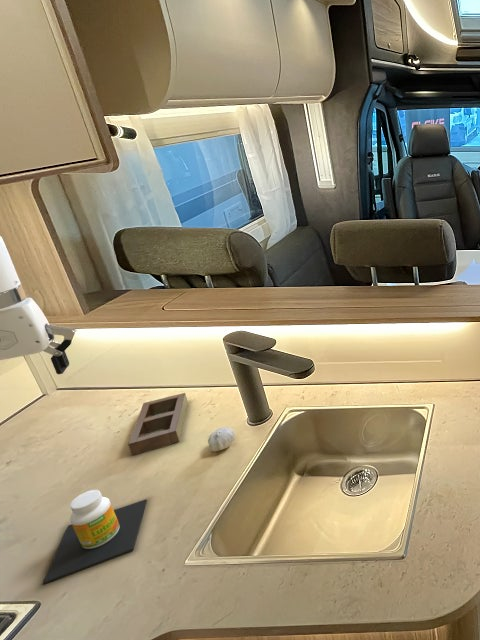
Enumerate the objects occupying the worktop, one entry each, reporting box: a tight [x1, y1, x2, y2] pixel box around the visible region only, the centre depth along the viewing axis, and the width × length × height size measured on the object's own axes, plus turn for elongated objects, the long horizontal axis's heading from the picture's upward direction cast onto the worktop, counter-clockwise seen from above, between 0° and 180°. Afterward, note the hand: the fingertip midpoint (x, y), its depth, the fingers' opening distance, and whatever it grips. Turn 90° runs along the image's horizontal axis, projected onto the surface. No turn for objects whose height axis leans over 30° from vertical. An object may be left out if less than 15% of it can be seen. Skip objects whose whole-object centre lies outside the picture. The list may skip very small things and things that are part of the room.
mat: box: [42, 498, 148, 585], centre depth 79 cm, size 12×12×1 cm
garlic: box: [207, 426, 236, 452], centre depth 101 cm, size 6×5×5 cm
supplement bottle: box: [69, 489, 120, 549], centre depth 78 cm, size 5×5×10 cm
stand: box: [128, 392, 189, 456], centre depth 106 cm, size 9×16×4 cm, turn 30°
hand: (28, 377), depth 81 cm, fingers open, 9 cm apart
